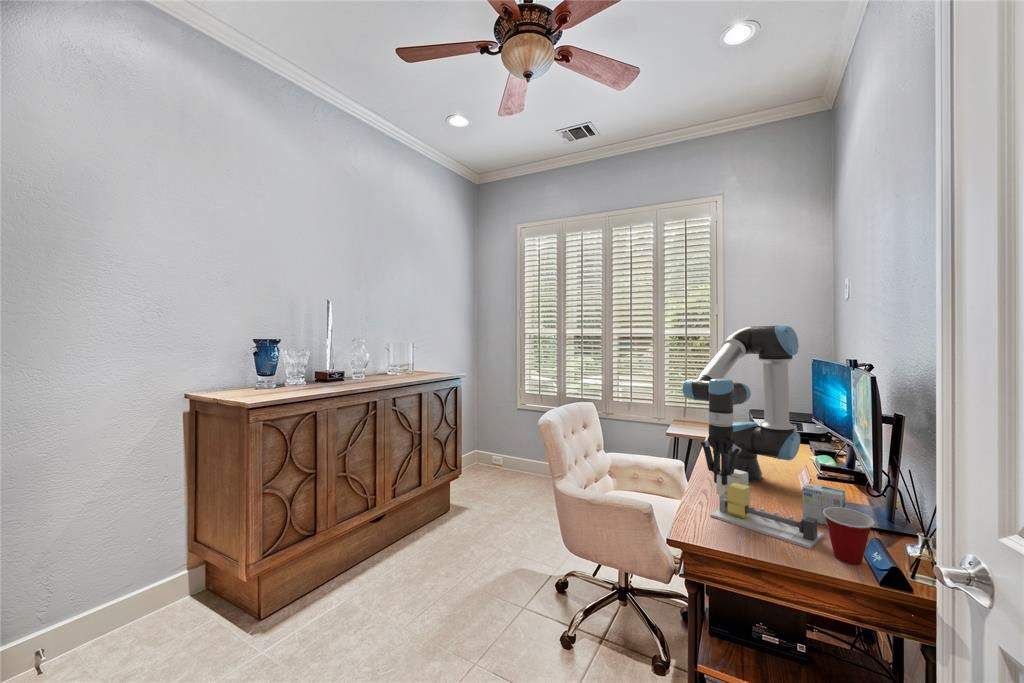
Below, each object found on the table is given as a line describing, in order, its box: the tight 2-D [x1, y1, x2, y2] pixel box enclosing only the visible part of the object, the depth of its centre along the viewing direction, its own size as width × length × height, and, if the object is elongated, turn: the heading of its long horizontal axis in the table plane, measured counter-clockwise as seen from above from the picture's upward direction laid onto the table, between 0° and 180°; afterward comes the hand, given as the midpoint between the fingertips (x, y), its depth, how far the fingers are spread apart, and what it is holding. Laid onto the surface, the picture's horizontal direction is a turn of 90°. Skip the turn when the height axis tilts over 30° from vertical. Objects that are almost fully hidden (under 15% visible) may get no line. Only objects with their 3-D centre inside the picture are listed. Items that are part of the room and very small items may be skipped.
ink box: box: [718, 467, 750, 501], centre depth 149 cm, size 9×5×12 cm, turn 33°
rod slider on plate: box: [710, 498, 824, 550], centre depth 130 cm, size 28×12×6 cm, turn 39°
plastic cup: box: [823, 507, 875, 566], centre depth 110 cm, size 11×11×12 cm
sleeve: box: [728, 483, 751, 518], centre depth 136 cm, size 5×5×9 cm
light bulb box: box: [802, 482, 846, 526], centre depth 134 cm, size 11×7×11 cm, turn 45°
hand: (720, 493), depth 141 cm, fingers closed
